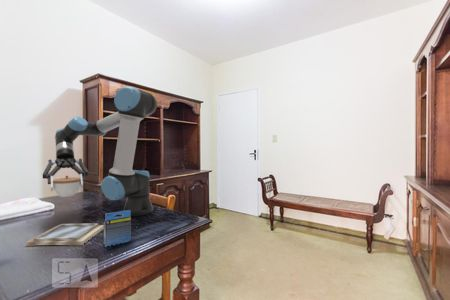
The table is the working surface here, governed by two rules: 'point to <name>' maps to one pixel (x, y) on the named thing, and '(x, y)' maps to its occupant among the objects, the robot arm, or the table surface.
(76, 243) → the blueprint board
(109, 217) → the label tape box
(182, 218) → the table surface
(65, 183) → the lidded jar
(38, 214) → the table surface
